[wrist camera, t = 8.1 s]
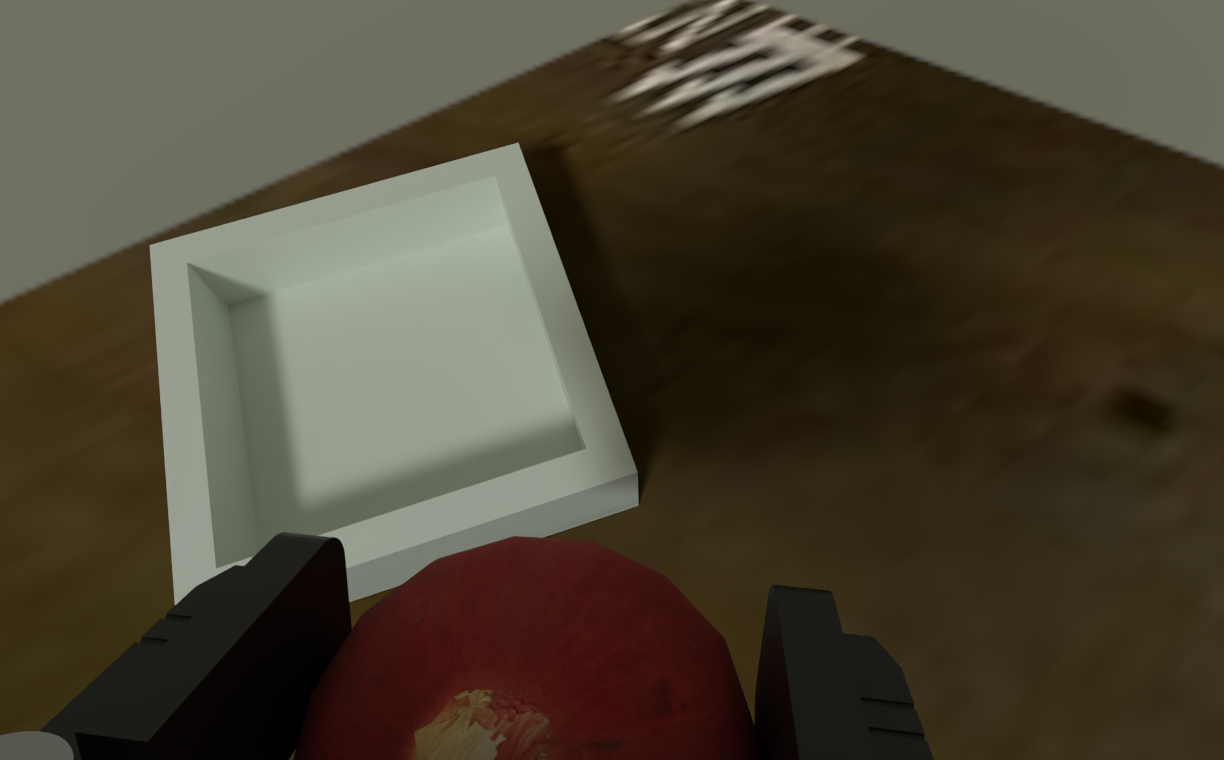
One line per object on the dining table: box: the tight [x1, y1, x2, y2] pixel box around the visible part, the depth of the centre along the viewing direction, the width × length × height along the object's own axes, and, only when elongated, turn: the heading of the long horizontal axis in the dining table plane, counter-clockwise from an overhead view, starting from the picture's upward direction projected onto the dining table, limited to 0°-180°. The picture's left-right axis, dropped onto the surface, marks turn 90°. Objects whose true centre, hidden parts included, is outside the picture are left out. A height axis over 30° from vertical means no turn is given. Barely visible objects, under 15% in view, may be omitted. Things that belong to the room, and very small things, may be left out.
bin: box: [150, 143, 639, 605], centre depth 26 cm, size 13×13×4 cm
